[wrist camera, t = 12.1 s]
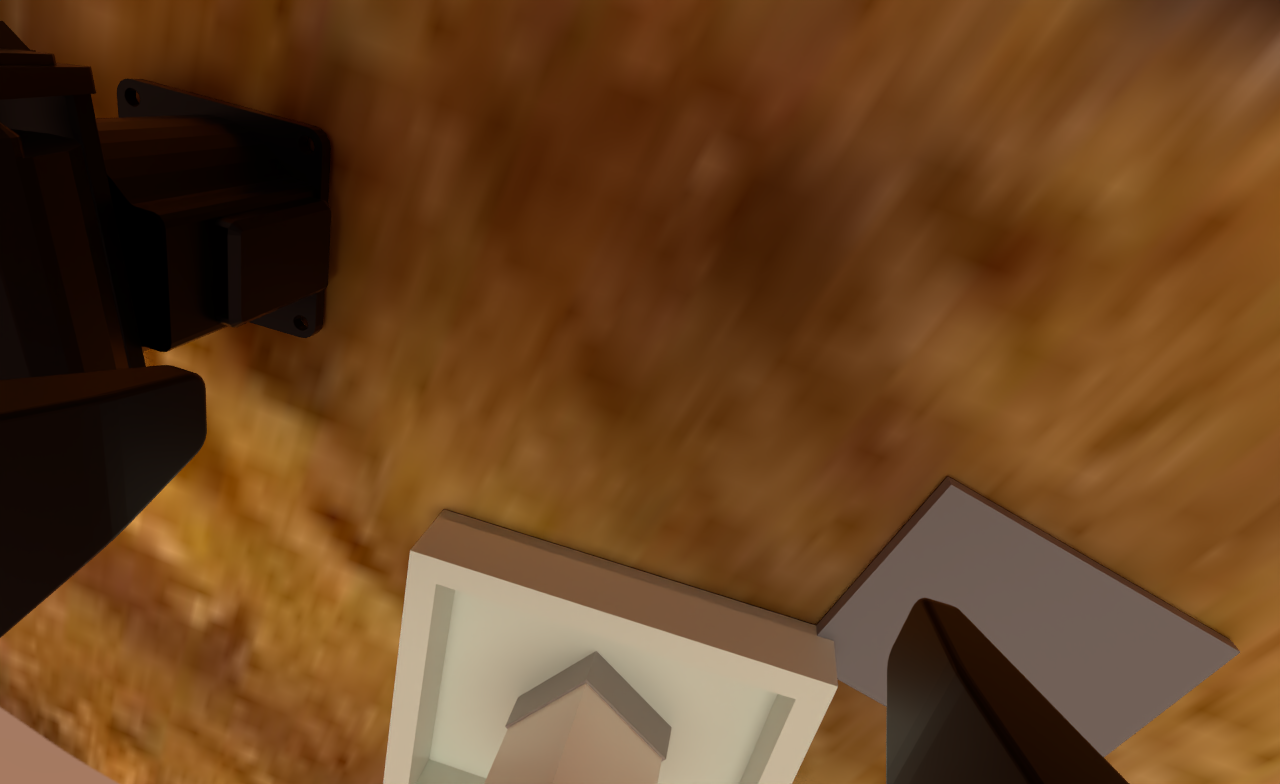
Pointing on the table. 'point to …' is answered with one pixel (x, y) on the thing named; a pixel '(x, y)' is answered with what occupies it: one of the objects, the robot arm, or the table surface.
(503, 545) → the parts tray
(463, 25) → the table surface
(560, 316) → the table surface
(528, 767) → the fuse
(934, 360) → the table surface
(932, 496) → the holder plate
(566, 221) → the table surface
